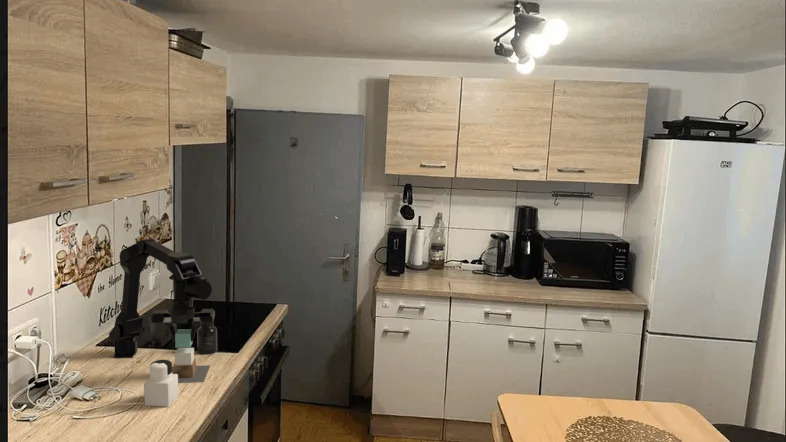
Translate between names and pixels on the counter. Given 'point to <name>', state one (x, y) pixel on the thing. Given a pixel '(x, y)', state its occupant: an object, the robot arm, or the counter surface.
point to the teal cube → (183, 338)
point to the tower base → (185, 370)
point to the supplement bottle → (207, 338)
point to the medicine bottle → (161, 384)
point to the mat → (196, 375)
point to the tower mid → (184, 356)
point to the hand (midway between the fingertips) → (184, 341)
